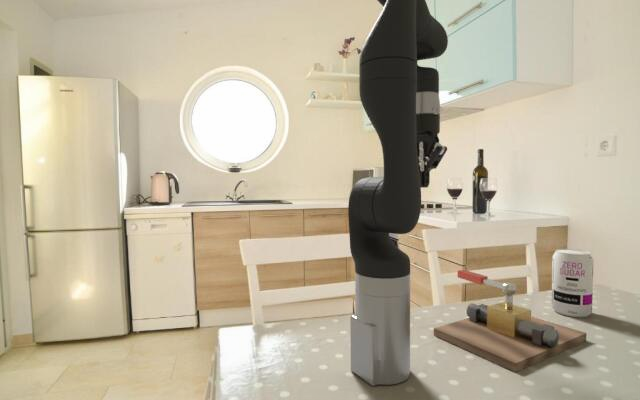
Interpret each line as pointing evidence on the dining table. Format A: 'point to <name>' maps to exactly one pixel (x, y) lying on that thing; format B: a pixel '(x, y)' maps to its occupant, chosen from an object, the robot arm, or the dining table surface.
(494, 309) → the pipe valve
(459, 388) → the dining table surface
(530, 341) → the valve board
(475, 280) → the valve lever
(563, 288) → the supplement can
